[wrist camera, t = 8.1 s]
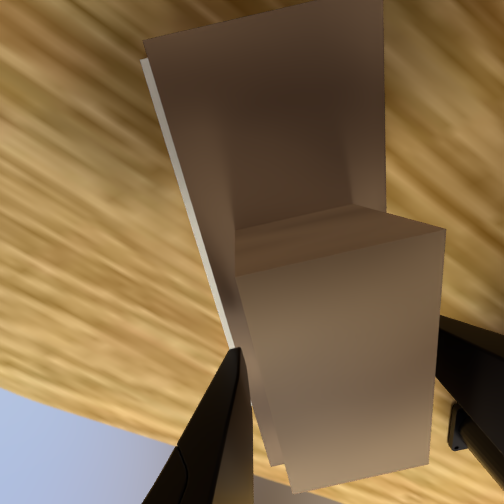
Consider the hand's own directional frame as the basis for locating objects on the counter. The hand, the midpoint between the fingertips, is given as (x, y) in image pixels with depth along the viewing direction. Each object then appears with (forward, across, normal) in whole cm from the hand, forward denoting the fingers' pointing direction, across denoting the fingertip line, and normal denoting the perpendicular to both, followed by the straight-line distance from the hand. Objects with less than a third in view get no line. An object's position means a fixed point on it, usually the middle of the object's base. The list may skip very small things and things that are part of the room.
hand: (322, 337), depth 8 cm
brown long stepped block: (+3, 0, 0) cm, 3 cm away
